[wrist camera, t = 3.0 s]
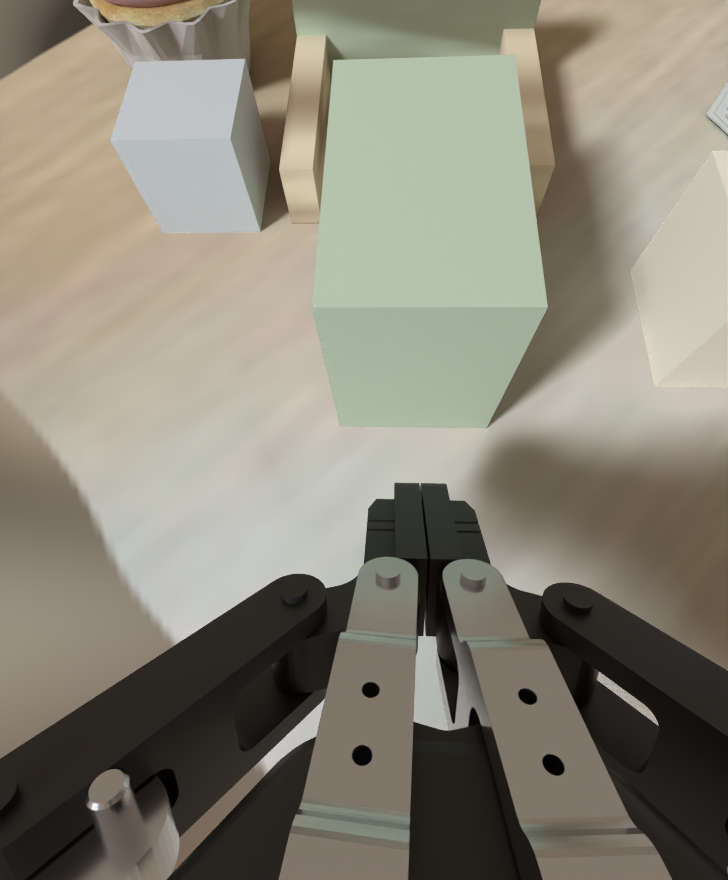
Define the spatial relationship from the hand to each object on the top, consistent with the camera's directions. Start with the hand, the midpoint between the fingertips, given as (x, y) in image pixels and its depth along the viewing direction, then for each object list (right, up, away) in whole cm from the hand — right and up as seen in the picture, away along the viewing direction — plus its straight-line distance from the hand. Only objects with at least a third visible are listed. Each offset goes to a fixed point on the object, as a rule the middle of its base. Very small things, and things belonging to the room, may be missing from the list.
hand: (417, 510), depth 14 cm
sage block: (+1, +7, +7) cm, 10 cm away
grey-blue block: (-9, +15, +11) cm, 21 cm away
